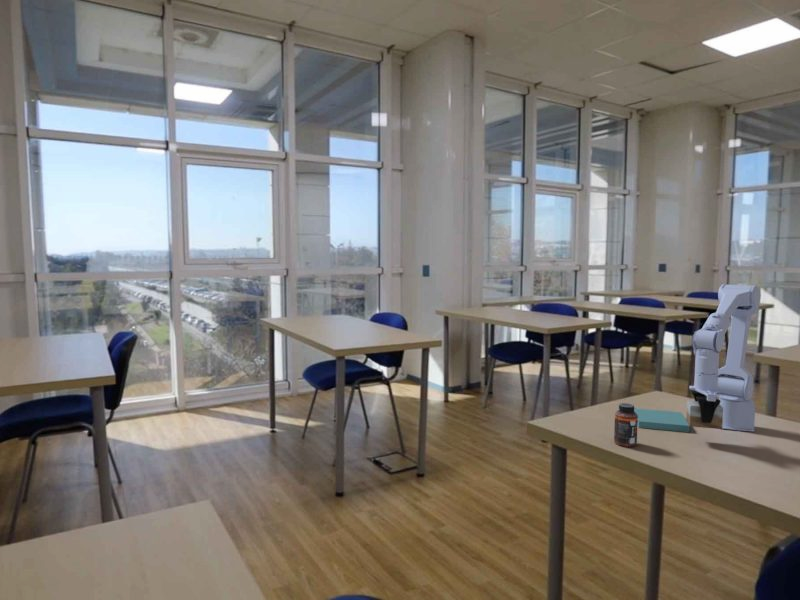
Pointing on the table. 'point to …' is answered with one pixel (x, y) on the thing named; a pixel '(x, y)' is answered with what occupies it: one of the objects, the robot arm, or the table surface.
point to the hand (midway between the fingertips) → (704, 419)
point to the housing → (695, 416)
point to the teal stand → (662, 420)
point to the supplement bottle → (626, 425)
